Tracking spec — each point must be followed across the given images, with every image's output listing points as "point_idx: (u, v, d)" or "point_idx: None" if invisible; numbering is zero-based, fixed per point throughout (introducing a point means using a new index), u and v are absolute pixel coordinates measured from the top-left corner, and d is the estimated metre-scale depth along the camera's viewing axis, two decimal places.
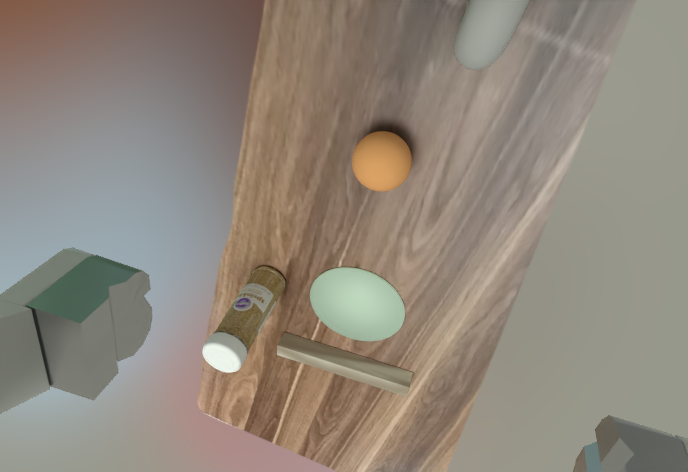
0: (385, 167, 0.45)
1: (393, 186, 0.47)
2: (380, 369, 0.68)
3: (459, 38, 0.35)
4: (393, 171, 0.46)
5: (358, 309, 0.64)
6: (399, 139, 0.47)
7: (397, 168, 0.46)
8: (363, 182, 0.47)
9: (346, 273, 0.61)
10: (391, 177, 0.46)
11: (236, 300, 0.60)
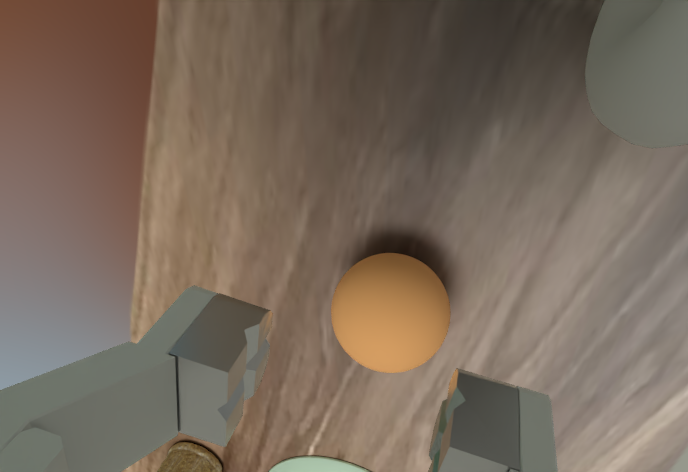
0: (400, 337, 0.22)
1: (414, 367, 0.23)
2: None
3: (648, 59, 0.12)
4: (415, 344, 0.22)
5: None
6: (427, 273, 0.23)
7: (424, 338, 0.22)
8: (353, 357, 0.23)
9: (321, 467, 0.36)
10: (412, 355, 0.22)
11: None
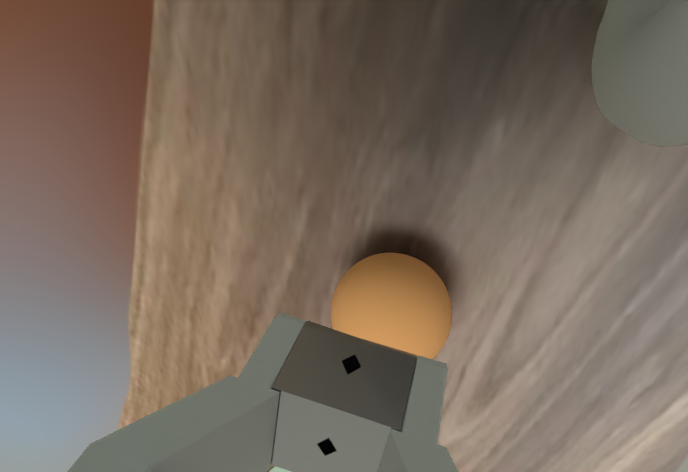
0: (401, 338, 0.21)
1: None
2: None
3: (659, 54, 0.11)
4: (416, 346, 0.21)
5: None
6: (428, 273, 0.23)
7: (425, 339, 0.22)
8: None
9: None
10: None
11: None
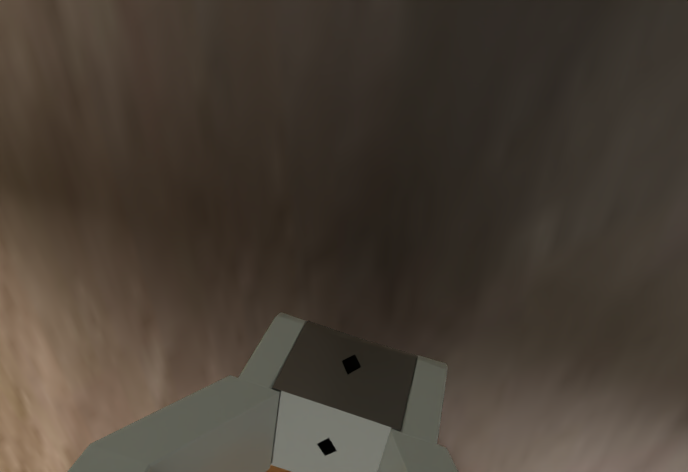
0: None
1: None
2: None
3: None
4: None
5: None
6: None
7: None
8: None
9: None
10: None
11: None
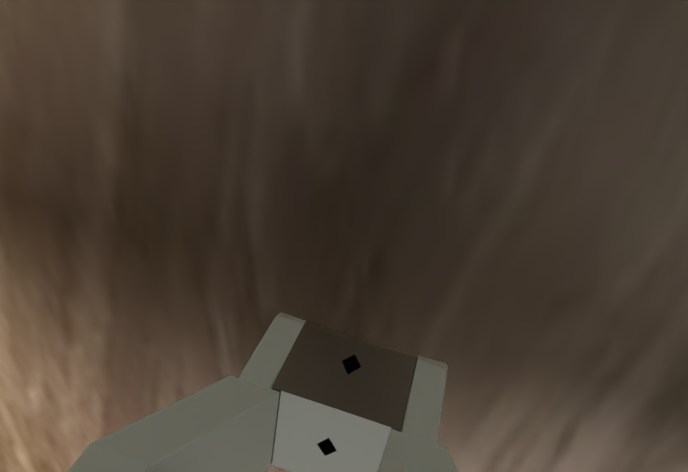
0: None
1: None
2: None
3: None
4: None
5: None
6: None
7: None
8: None
9: None
10: None
11: None
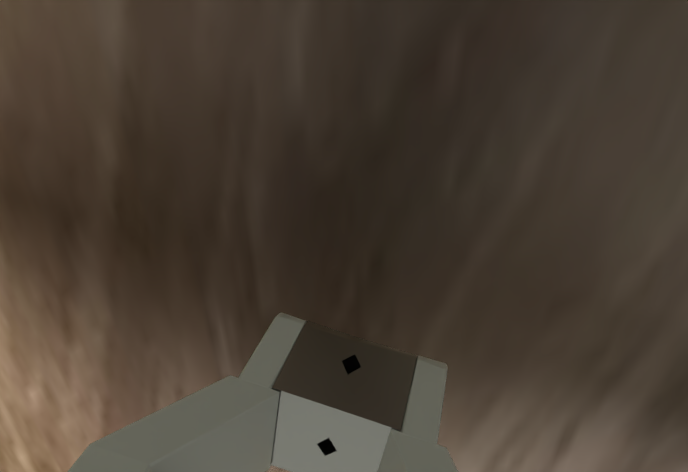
0: None
1: None
2: None
3: None
4: None
5: None
6: None
7: None
8: None
9: None
10: None
11: None
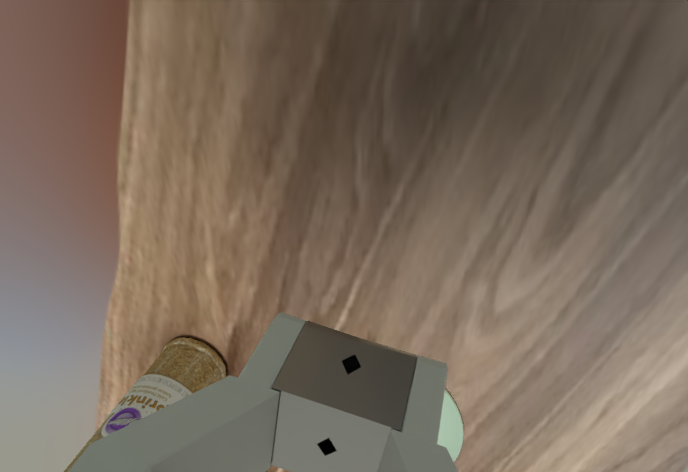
0: None
1: None
2: None
3: None
4: None
5: None
6: None
7: None
8: None
9: None
10: None
11: (113, 412, 0.28)
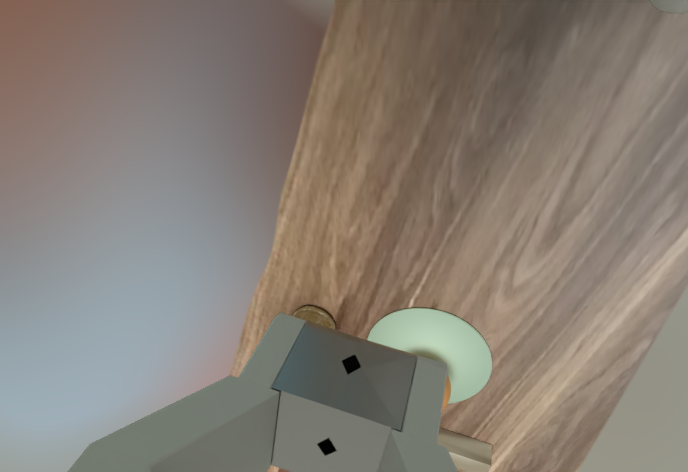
0: None
1: None
2: (451, 440, 0.53)
3: None
4: None
5: None
6: None
7: None
8: None
9: (418, 316, 0.48)
10: None
11: None
